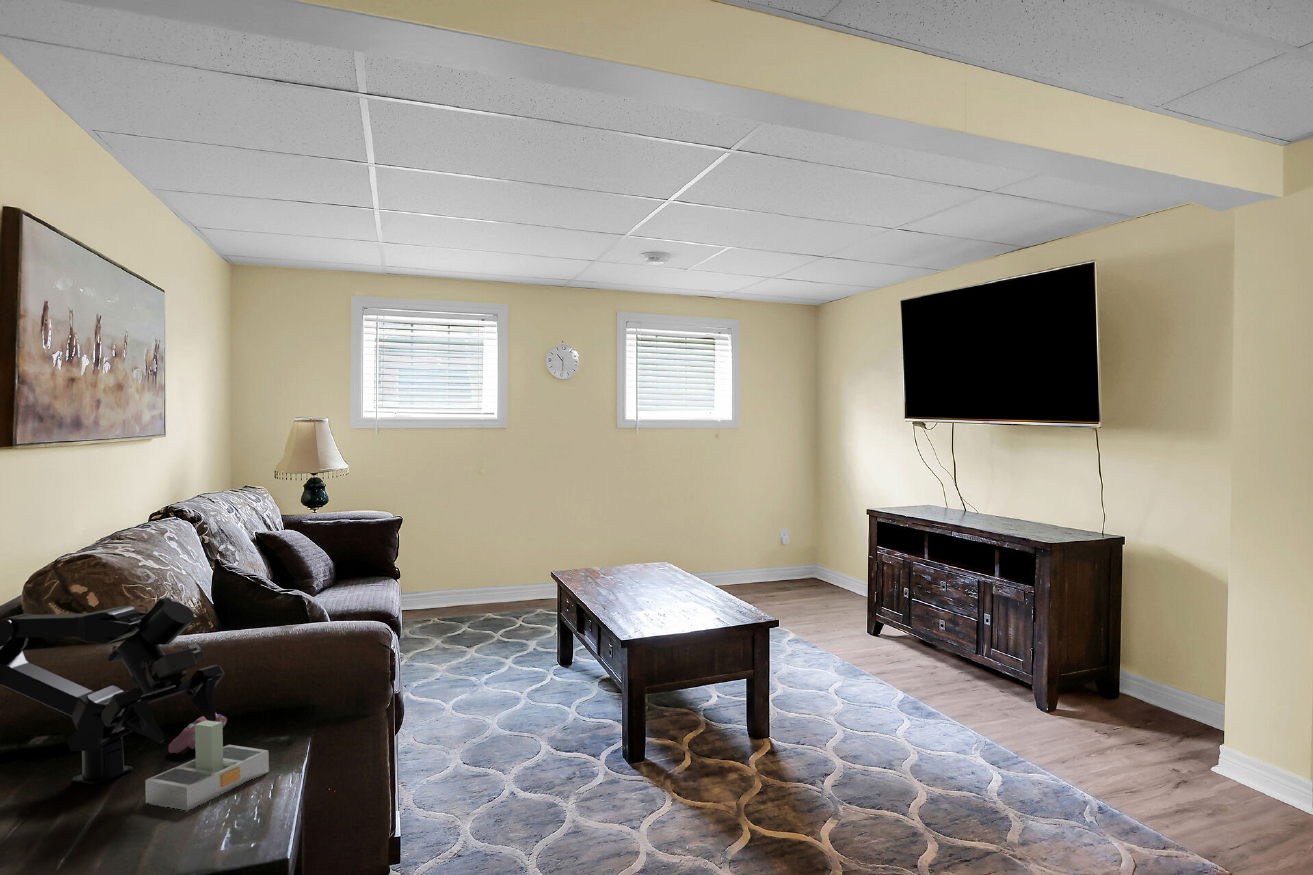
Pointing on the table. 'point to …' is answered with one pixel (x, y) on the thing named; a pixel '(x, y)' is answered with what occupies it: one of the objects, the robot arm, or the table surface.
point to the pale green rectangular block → (209, 746)
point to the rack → (205, 779)
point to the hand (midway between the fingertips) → (189, 730)
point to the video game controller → (190, 735)
